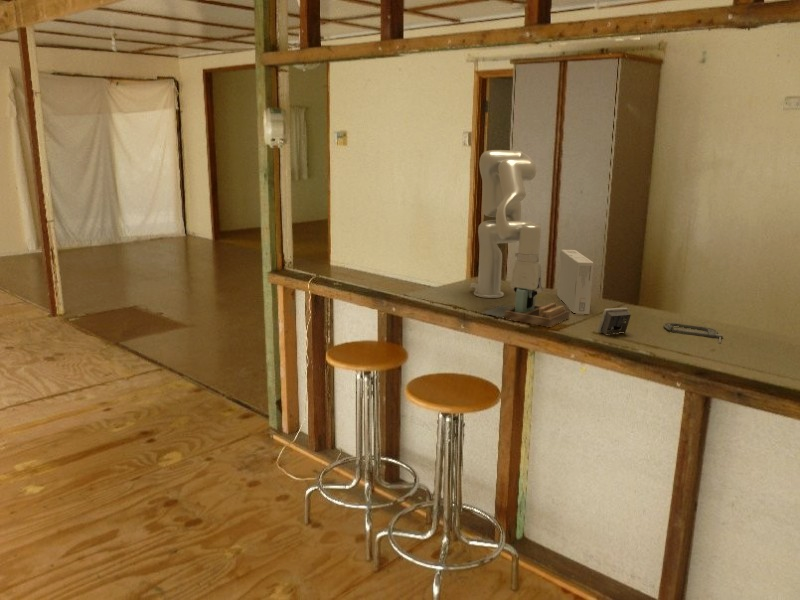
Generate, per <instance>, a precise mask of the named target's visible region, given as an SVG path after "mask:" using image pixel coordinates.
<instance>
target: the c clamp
mask: <svg viewBox="0 0 800 600" xmlns="http://www.w3.org/2000/svg"><path fill="white" fill-rule="evenodd" d="M672 326H673V327H672ZM674 326H679V327H684V328H679V327H678V328H676V327H674ZM663 328H664V329H665V330H667V331H669V333H670V332H673V333H674V332H675V333H679V334H683V333H684V334H683V335H690V334H691V335H693V336H699V337H707V338H711V339H718V344H719V345H722V339H723V338H724V334H720V333H718V331H717V329H714V328H711V327H706V326H700V325H699V326H698V325H691V324H684V323H683V324H682V323H677V322H666V323H664V324H663ZM687 328H691V329H687ZM695 329H697V330H698V331H697V330H695ZM703 331H704V332H703Z"/></svg>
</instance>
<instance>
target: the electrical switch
mask: <svg viewBox="0 0 800 600" xmlns="http://www.w3.org/2000/svg"><path fill="white" fill-rule="evenodd" d="M631 316H632V314H630V313H629V308H628V307H614V308H613V307H612V308H605V309H604V310H603V312H602V315H601V319H600V322H599V325H598V329H597V331H598V333H599V334H604V336H607V335H606V334H613V333H619V332H624V334H626V331H627V328H628V325H629V322H630V319H631ZM612 331H613V332H612Z"/></svg>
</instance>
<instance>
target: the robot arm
mask: <svg viewBox="0 0 800 600" xmlns="http://www.w3.org/2000/svg"><path fill="white" fill-rule="evenodd" d="M478 164H479V166H478V167H479V173H480V176H481V181H482V193H481V194H482V196H481V197H482V201H481V203H482V205H481V207H482V213H483V215H484V216H485V217H492V218H495V219H491V220H490V219H489V220H484V221H482V222H480V224H479V225H478V228H477V229H478V230H477V233H478V235H477V236H478V243H479V244H478V245H479V246H478V247H479V255H478V256H479V257H478V276H477V277H478V278H477V283H476V282H471V283H470V288H471V289H475V290H474V291H473V295H474V296H476V297H479V298H484V299H499V298H503V297H504V295H505V292H504V291H501V287H502V286H501V285H502V267H503V253H502V250H501V249H500V247H499V244H515V243H517V242H518V251H517V252H516V253H515V254H514V257H516V258H517V260H515V261H514V265H513V269H512V273H511V274H512V275H511V282H510V284H509V287H510V288H511V289H512V290H513V291H514V292H515V293H516V290H518V289H526V290H529V297H528V298H527V308H530V307H532V306H533V298H534V296H535V297H536V296H537V295H538V294H540V293H543V292H544V288H543V287H542V267H541V262H540V249H541V248H540V246H541V232H542V229H541V228H542V227H541V226H540V225H539V224H537V223H534V222H533V221H531V220H522V203H521V201H523V200H524V199H525V198H526V195H527V194H526V193H527V192H526V188H525V183H524V182H525V181H527V182H528V181H529V182H530V181H533V180H534V178H535V177H536V174H537V169H536V168H537V167H536V164H535V162H534V160H533V159H532V158H531V157H530V156H529V155H527V154H526V153H525V152H523V150H522V151H521V150H516V149H515V150H510V149H509V150H507V149H490V150H485V151H483V152H482V154H481V155H480V157H479V163H478ZM535 289H536V291H535Z"/></svg>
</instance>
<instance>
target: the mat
mask: <svg viewBox="0 0 800 600" xmlns="http://www.w3.org/2000/svg"><path fill="white" fill-rule="evenodd" d="M514 307H515V306H509V305H504V304H503V305H498V306H496V307H492V308H491V309H488V310H485V311H483V312H480V315H482V314H487V315H493V316H498V317H504V311H506V310H508V309H511V308H514ZM487 315H486V316H487ZM498 317H497V318H498Z"/></svg>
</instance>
